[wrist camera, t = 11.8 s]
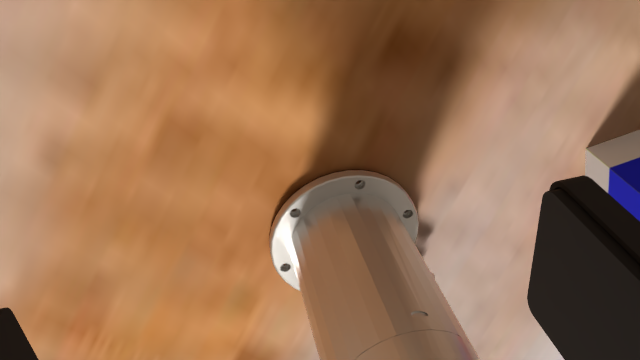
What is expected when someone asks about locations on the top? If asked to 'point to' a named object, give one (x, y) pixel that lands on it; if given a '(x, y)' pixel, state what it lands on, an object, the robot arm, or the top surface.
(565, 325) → the robot arm
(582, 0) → the top surface
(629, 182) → the puzzle toy
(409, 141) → the top surface
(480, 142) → the top surface
